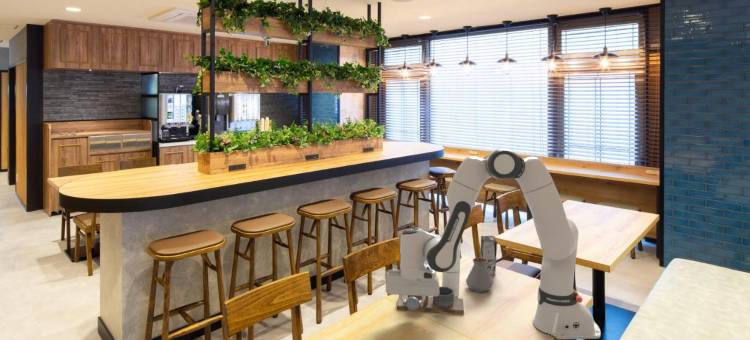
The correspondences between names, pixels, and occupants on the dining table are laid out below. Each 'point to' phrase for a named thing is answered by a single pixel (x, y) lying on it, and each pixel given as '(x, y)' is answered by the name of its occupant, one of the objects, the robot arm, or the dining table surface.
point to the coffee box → (489, 252)
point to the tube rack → (438, 302)
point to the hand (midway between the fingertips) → (412, 305)
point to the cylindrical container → (453, 275)
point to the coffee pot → (481, 275)
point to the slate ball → (412, 303)
